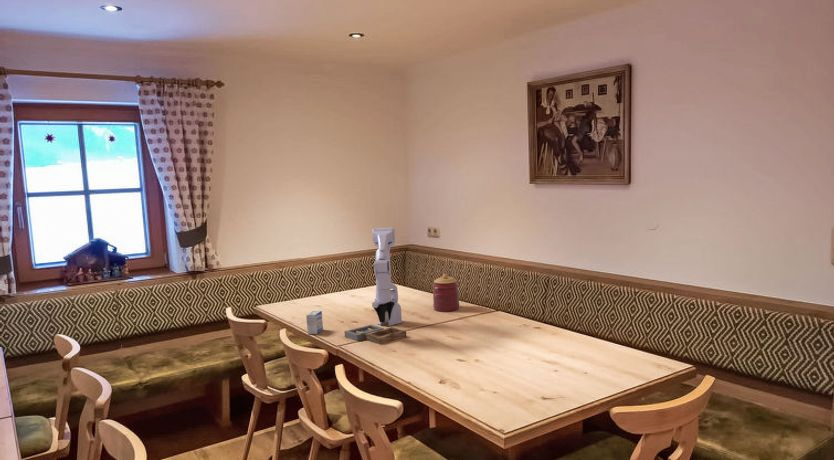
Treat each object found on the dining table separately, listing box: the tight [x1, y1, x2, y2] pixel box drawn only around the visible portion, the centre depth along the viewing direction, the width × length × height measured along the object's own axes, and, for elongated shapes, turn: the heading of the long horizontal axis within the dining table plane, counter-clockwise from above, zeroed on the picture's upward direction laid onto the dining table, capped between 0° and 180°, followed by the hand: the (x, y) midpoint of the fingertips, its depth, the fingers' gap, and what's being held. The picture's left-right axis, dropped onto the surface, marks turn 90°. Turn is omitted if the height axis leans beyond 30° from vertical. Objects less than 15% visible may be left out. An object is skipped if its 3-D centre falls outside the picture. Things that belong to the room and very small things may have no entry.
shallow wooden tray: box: [364, 326, 407, 345], centre depth 251 cm, size 14×10×2 cm
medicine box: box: [305, 310, 324, 335], centre depth 265 cm, size 8×4×9 cm, turn 168°
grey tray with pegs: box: [344, 324, 385, 342], centre depth 256 cm, size 14×9×3 cm
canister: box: [432, 273, 461, 313], centre depth 296 cm, size 13×13×18 cm
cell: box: [379, 310, 389, 327], centre depth 250 cm, size 4×4×6 cm
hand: (384, 320), depth 250 cm, fingers closed on cell, 4 cm apart
